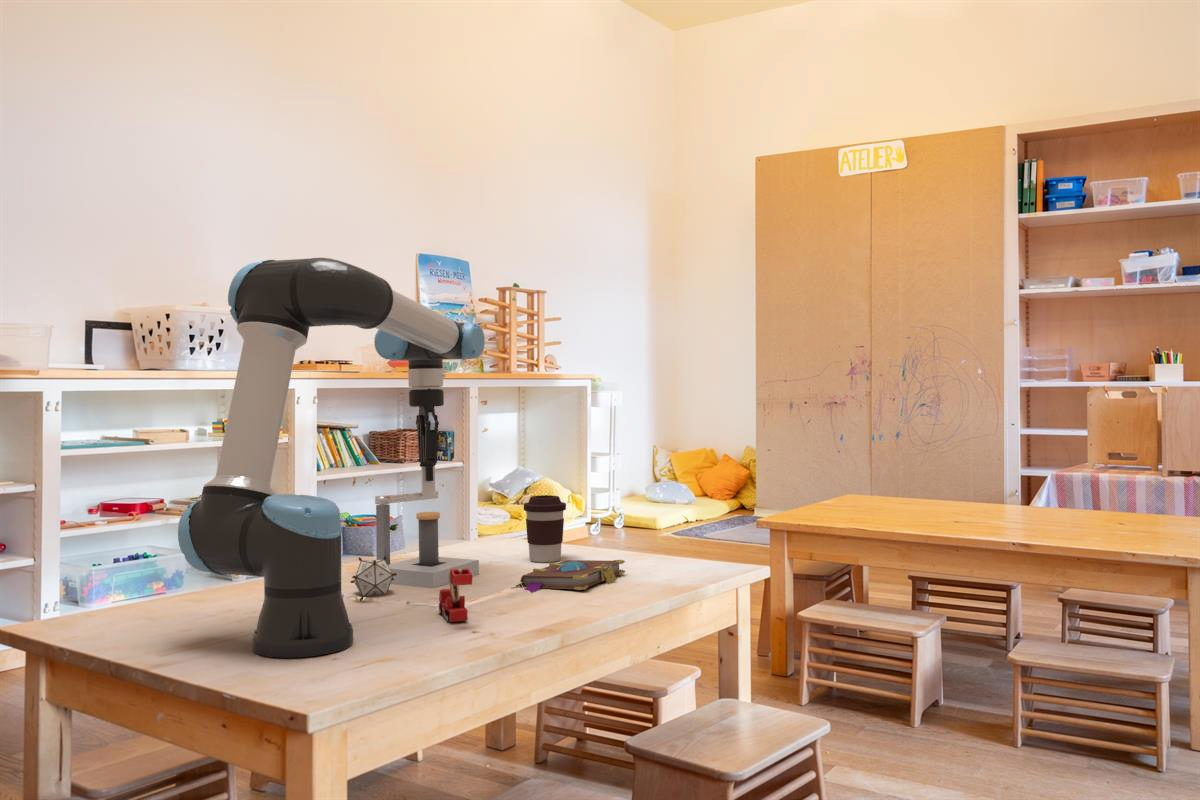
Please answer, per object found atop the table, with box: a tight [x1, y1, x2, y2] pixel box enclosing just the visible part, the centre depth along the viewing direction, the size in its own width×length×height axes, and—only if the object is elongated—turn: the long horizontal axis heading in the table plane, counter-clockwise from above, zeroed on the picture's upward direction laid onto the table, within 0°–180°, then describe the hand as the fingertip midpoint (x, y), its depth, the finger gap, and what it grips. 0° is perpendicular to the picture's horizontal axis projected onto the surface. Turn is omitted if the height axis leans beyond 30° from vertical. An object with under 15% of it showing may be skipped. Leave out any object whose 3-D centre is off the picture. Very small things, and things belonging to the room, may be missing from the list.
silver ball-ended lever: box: [374, 490, 439, 505], centre depth 216 cm, size 3×16×2 cm, turn 136°
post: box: [375, 504, 391, 565], centre depth 212 cm, size 5×5×16 cm
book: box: [519, 559, 626, 594], centre depth 205 cm, size 16×25×5 cm, turn 155°
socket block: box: [388, 556, 480, 589], centre depth 206 cm, size 16×14×4 cm
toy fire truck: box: [438, 569, 473, 623], centre depth 173 cm, size 3×14×10 cm, turn 21°
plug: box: [416, 511, 441, 567], centre depth 206 cm, size 5×5×14 cm
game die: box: [350, 556, 397, 602], centre depth 191 cm, size 9×8×10 cm
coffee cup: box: [523, 494, 567, 564], centre depth 232 cm, size 10×10×15 cm
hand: (428, 495), depth 218 cm, fingers closed
